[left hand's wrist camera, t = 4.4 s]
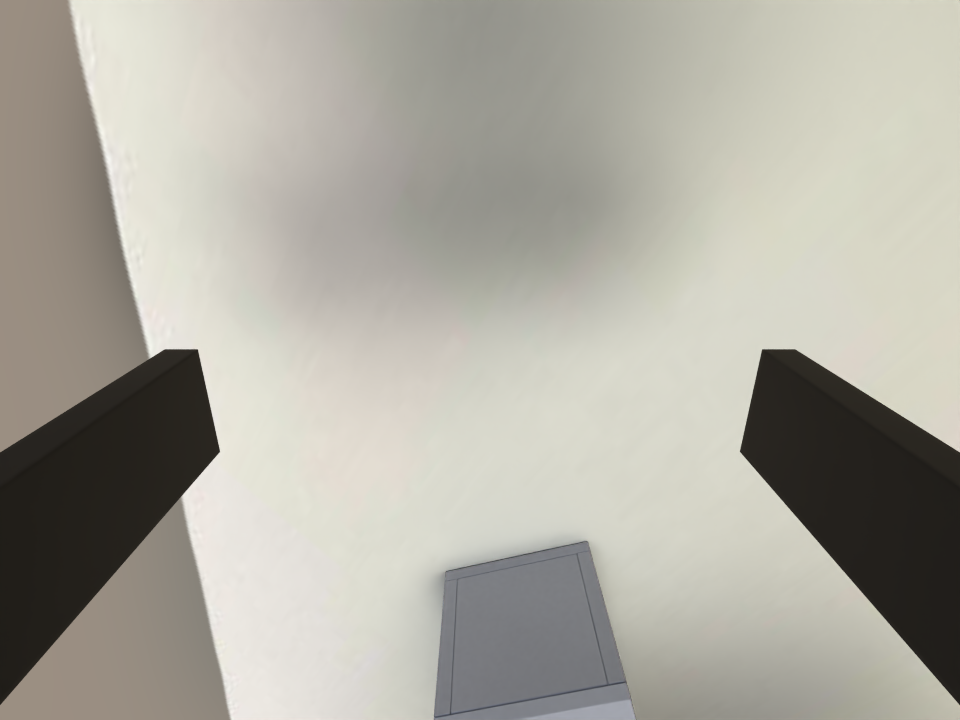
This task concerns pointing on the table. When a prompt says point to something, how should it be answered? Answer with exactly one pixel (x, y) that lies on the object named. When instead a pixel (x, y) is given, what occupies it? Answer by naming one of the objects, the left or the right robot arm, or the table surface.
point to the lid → (562, 707)
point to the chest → (524, 632)
